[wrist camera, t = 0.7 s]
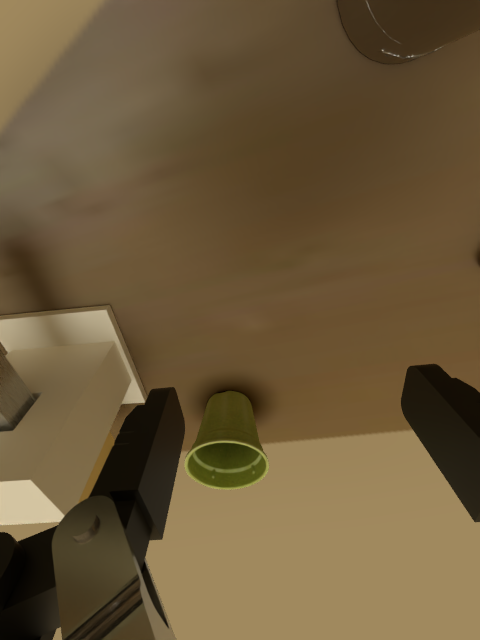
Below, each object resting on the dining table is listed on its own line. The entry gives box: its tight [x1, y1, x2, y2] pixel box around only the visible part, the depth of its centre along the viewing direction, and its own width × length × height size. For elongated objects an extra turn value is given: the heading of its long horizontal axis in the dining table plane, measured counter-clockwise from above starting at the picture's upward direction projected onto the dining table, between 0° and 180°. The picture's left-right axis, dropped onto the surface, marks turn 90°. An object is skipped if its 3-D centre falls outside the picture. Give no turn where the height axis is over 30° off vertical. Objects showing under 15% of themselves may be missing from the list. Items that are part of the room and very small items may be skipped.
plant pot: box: [184, 391, 269, 489], centre depth 35 cm, size 9×9×9 cm
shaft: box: [0, 350, 36, 432], centre depth 24 cm, size 24×5×5 cm, turn 6°
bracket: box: [0, 305, 147, 525], centre depth 27 cm, size 14×13×16 cm
